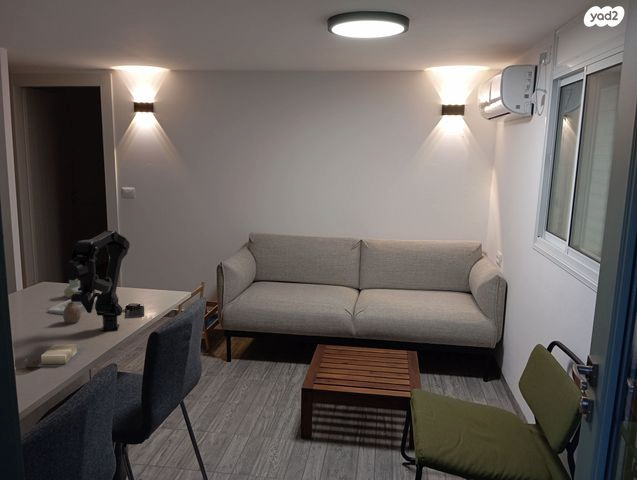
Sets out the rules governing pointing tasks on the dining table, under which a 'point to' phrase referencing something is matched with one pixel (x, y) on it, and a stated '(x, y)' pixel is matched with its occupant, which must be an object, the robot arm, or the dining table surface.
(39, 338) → the dining table surface
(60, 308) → the ramp
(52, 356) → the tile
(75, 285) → the air freshener
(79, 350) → the mat
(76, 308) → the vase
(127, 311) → the phone
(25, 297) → the dining table surface
